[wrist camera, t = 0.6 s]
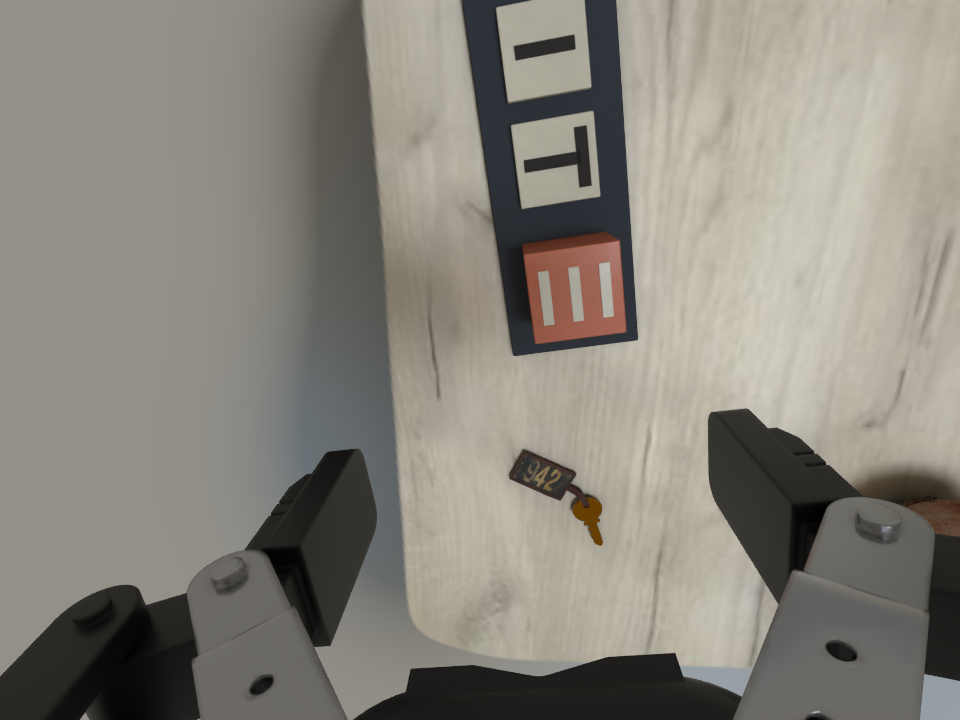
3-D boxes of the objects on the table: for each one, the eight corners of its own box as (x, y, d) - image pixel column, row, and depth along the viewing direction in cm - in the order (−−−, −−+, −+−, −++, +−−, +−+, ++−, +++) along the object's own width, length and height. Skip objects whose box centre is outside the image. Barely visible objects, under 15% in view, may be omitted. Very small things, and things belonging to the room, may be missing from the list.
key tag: (502, 472, 33) (502, 477, 33) (534, 440, 32) (534, 444, 32) (599, 545, 35) (600, 551, 34) (631, 516, 34) (633, 522, 33)
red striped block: (522, 243, 28) (523, 254, 24) (605, 231, 28) (620, 240, 24) (532, 323, 30) (535, 345, 26) (612, 312, 29) (627, 333, 25)
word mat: (462, -4, 25) (459, -13, 24) (611, -35, 24) (616, -45, 23) (513, 353, 31) (513, 360, 30) (636, 337, 30) (641, 344, 29)
